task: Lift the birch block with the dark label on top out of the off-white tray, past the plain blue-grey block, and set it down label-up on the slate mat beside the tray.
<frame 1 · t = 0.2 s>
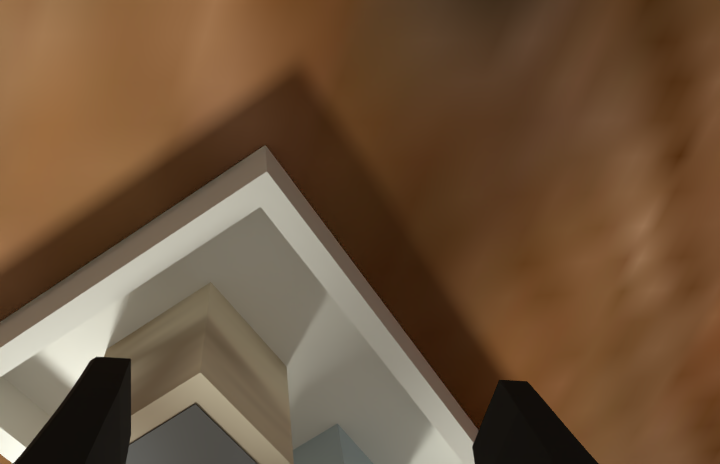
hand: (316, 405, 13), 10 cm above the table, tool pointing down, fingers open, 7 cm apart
birch block: (199, 358, 24), point 1 cm above the table, touching tray
tray: (264, 414, 26), on the table
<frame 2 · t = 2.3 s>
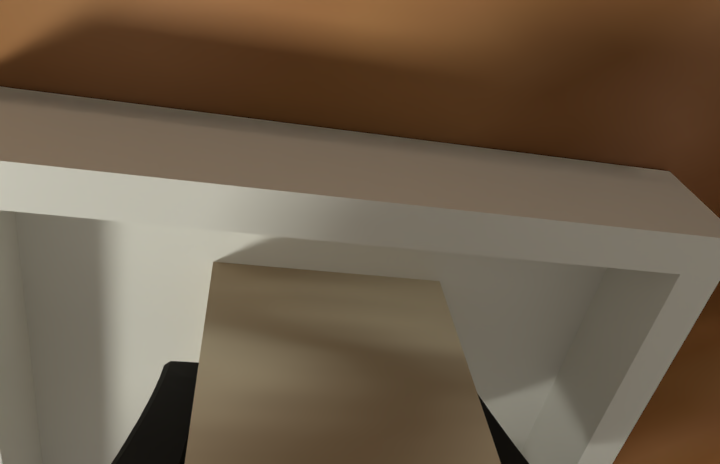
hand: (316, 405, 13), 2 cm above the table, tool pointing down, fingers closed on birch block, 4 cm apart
birch block: (313, 355, 14), point 1 cm above the table, touching gripper, tray
tray: (289, 455, 17), on the table
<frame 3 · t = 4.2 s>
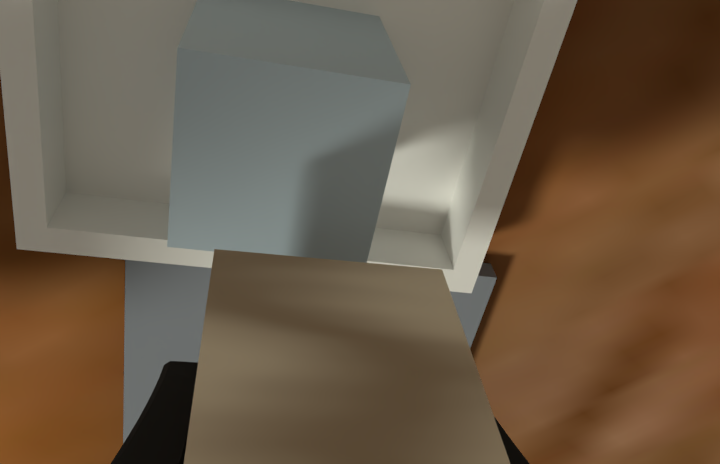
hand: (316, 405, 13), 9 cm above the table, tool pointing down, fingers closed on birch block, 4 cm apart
mat: (294, 376, 25), on the table
birch block: (315, 345, 14), point 8 cm above the table, touching gripper
blue-grey block: (281, 84, 18), point 1 cm above the table, touching tray
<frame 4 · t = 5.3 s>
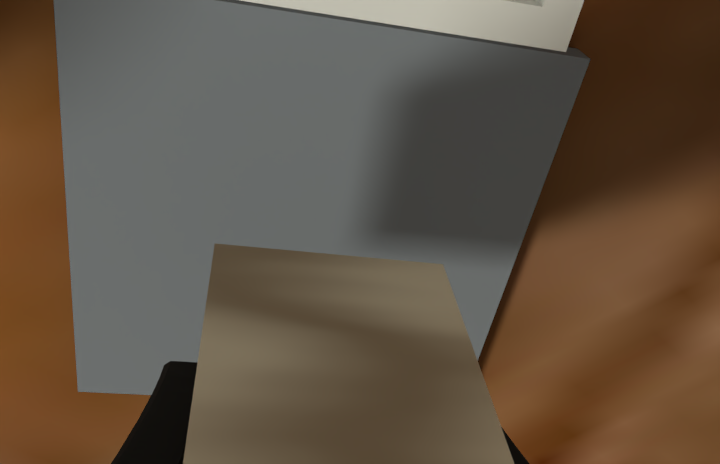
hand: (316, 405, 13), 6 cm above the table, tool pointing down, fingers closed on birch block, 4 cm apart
mat: (303, 228, 18), on the table
birch block: (315, 340, 14), point 5 cm above the table, touching gripper
when the fingers open (3 cm above the table, at t = 6.3 s): birch block drops 1 cm, resting on mat.
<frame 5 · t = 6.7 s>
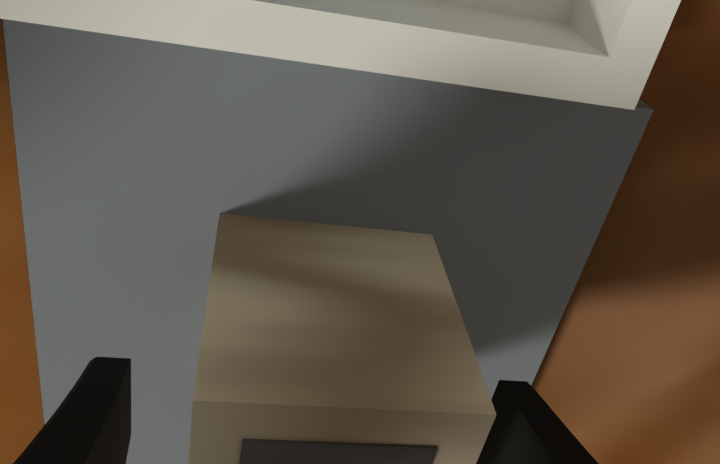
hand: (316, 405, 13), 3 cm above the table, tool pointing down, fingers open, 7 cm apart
mat: (309, 297, 16), on the table
birch block: (313, 307, 15), point 1 cm above the table, touching mat
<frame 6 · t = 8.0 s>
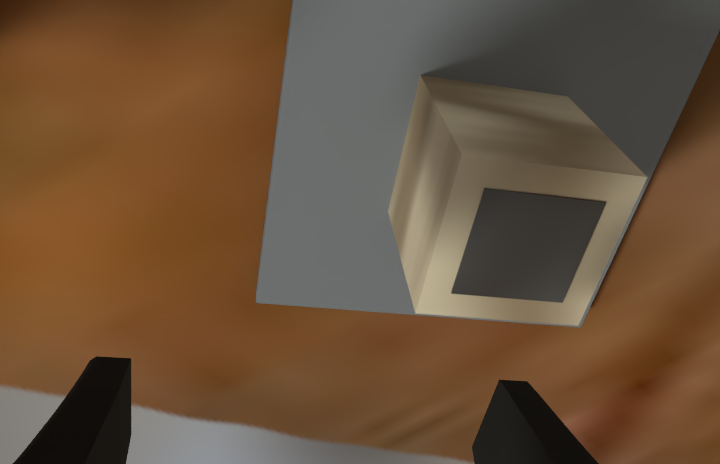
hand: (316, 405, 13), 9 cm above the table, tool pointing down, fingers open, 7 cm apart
mat: (465, 154, 21), on the table
birch block: (474, 155, 20), point 1 cm above the table, touching mat
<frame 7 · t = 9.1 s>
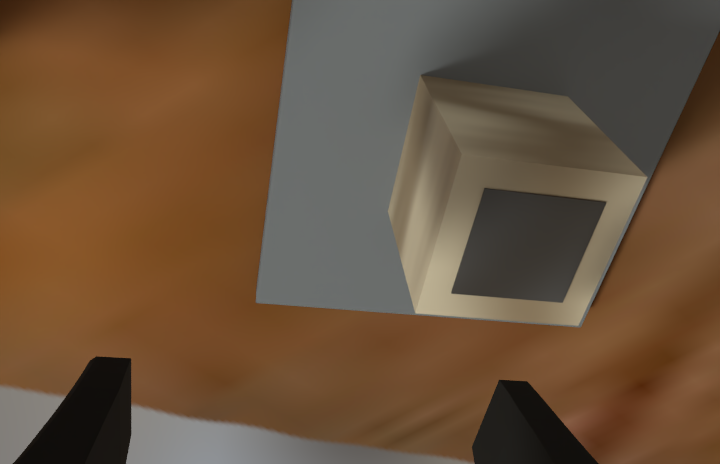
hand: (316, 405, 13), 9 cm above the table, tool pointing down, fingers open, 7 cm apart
mat: (465, 154, 21), on the table
birch block: (474, 155, 20), point 1 cm above the table, touching mat
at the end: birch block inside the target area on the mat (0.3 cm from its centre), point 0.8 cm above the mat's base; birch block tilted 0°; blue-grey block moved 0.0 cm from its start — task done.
